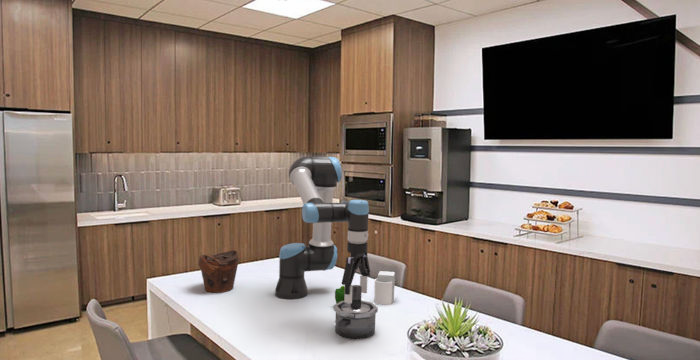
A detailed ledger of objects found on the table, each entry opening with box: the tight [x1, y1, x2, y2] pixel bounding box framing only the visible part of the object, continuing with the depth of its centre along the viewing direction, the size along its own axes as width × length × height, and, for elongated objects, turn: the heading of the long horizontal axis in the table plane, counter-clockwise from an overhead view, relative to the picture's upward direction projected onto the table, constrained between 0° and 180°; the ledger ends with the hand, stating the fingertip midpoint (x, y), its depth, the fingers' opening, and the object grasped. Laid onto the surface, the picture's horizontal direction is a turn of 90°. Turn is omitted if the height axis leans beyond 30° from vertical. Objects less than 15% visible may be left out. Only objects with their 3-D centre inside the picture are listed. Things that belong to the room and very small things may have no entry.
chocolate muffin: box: [197, 249, 240, 293], centre depth 227 cm, size 18×20×18 cm
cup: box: [373, 277, 393, 306], centre depth 216 cm, size 8×12×10 cm
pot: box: [333, 299, 379, 340], centre depth 179 cm, size 15×24×10 cm, turn 154°
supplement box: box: [377, 270, 396, 304], centre depth 216 cm, size 7×7×13 cm
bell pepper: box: [334, 285, 345, 305], centre depth 206 cm, size 8×8×10 cm
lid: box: [341, 284, 370, 313], centre depth 179 cm, size 11×11×9 cm
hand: (356, 297), depth 179 cm, fingers open, 13 cm apart
